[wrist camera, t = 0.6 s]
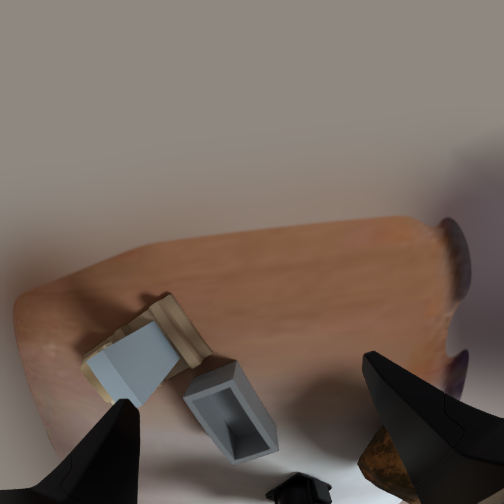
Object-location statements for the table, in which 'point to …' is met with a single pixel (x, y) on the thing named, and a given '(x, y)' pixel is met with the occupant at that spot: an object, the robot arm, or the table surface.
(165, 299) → the rack
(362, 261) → the table surface
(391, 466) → the rock
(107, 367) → the panel
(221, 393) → the holder
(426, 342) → the table surface
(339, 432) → the table surface
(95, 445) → the robot arm
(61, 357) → the table surface
